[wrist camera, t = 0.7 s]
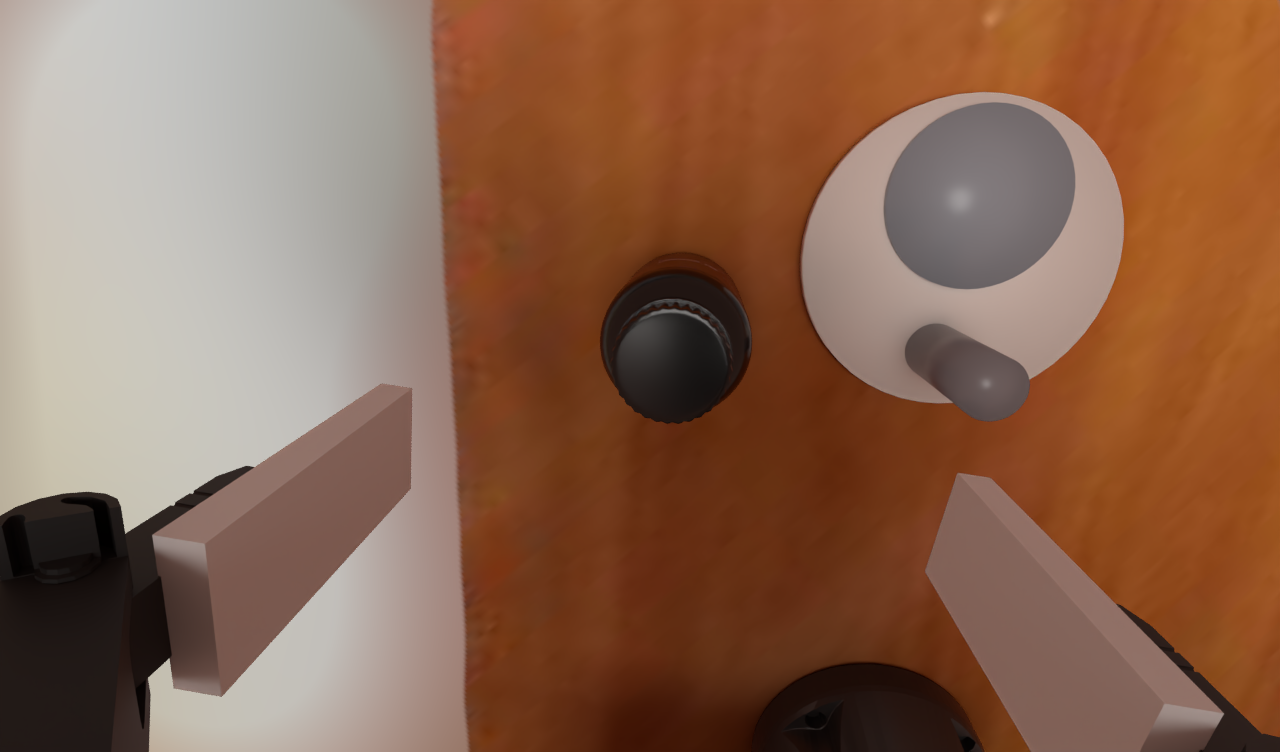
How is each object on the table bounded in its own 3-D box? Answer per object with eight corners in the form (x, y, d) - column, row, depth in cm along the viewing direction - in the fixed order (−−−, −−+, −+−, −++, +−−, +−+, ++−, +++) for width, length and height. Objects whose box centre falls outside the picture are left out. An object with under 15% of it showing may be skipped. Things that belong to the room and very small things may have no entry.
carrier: (1053, 416, 35) (1154, 478, 27) (774, 376, 36) (797, 425, 28) (1158, 116, 30) (1315, 90, 23) (834, 76, 31) (881, 37, 23)
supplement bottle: (707, 228, 34) (715, 245, 22) (760, 336, 35) (793, 405, 24) (599, 286, 35) (554, 330, 24) (654, 387, 36) (637, 476, 25)
